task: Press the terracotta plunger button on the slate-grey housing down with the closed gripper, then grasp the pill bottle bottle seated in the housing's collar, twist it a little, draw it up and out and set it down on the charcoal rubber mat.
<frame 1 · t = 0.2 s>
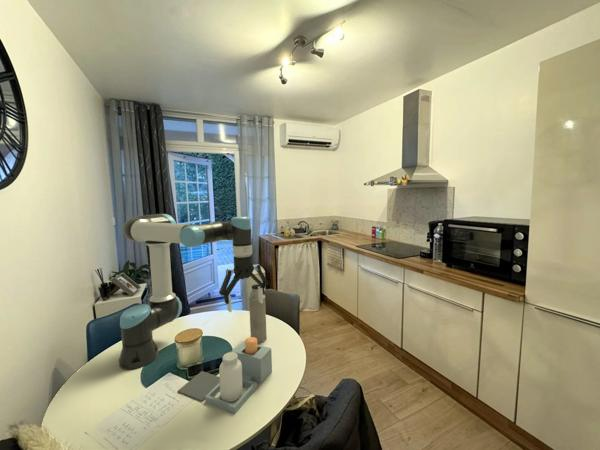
hand: (245, 306, 107), 27 cm above the table, fingers open, 13 cm apart
plunger: (251, 348, 107), point 10 cm above the table, slide at 0.0 cm
pill bottle: (231, 394, 96), on the table
thermos bottle: (258, 339, 133), on the table
mat: (202, 385, 101), on the table
housing: (235, 390, 98), on the table
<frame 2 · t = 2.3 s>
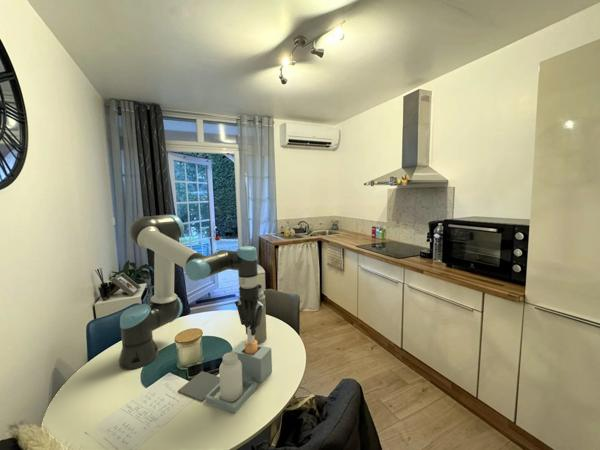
hand: (251, 341, 106), 13 cm above the table, fingers closed
plunger: (251, 350, 107), point 10 cm above the table, slide at 0.9 cm
everything else where it was.
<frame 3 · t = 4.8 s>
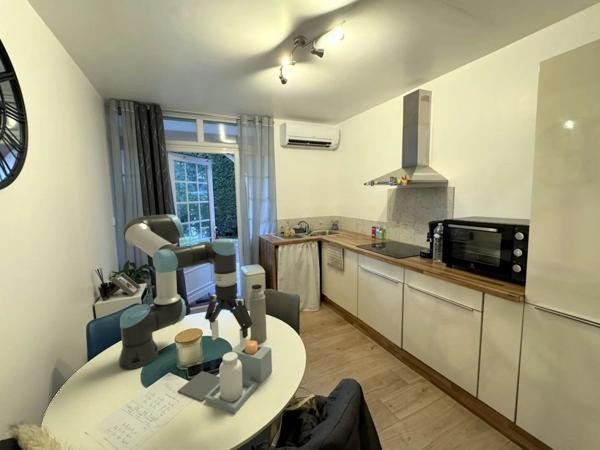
hand: (229, 341, 94), 20 cm above the table, fingers open, 12 cm apart
plunger: (251, 352, 107), point 9 cm above the table, slide at 1.5 cm
everything else where it was.
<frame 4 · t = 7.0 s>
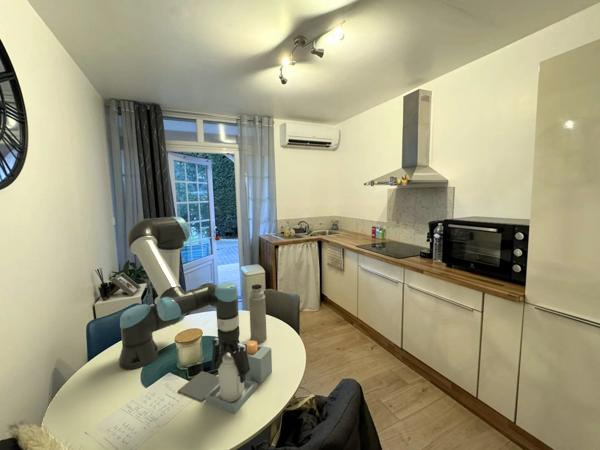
hand: (231, 386, 96), 3 cm above the table, fingers closed on pill bottle, 8 cm apart
pill bottle: (231, 394, 96), on the table, touching gripper
everything else where it was.
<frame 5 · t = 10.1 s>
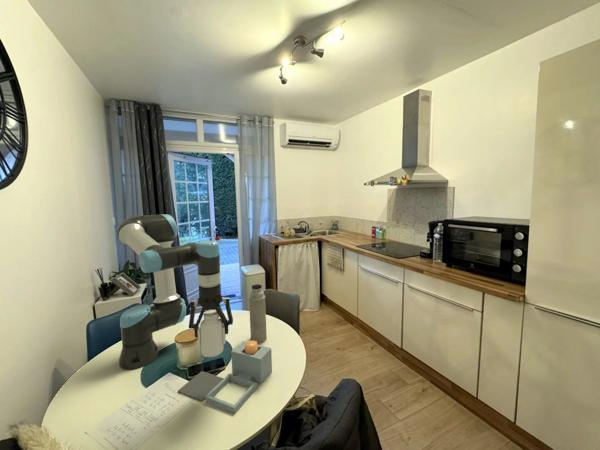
hand: (212, 343, 97), 18 cm above the table, fingers closed on pill bottle, 8 cm apart
pill bottle: (212, 351, 97), point 15 cm above the table, touching gripper
everything else where it was.
when the fingers open (6 cm above the table, at t = 13.4 s): pill bottle drops 2 cm, resting on mat.
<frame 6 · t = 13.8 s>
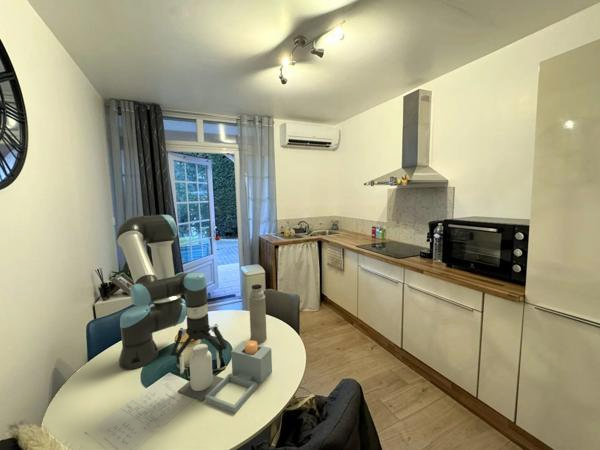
hand: (200, 368, 100), 7 cm above the table, fingers open, 12 cm apart
pill bottle: (202, 384, 101), resting on mat
everything else where it was.
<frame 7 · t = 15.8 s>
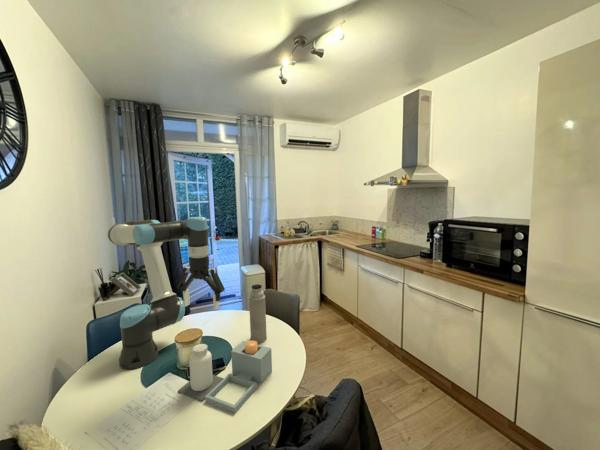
hand: (201, 307, 107), 28 cm above the table, fingers open, 13 cm apart
nothing on the table moved.
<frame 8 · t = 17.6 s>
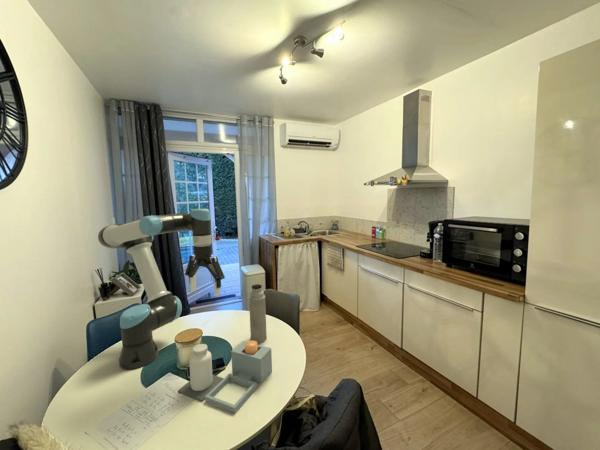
hand: (205, 293, 114), 31 cm above the table, fingers open, 13 cm apart
nothing on the table moved.
at the end: pill bottle inside the target area on the mat (0.1 cm from its centre), point 0.4 cm above the mat's base; pill bottle tilted 0°; plunger slide at 1.5 cm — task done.
